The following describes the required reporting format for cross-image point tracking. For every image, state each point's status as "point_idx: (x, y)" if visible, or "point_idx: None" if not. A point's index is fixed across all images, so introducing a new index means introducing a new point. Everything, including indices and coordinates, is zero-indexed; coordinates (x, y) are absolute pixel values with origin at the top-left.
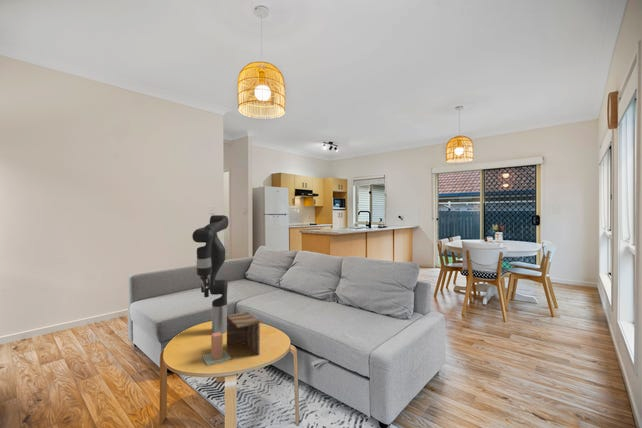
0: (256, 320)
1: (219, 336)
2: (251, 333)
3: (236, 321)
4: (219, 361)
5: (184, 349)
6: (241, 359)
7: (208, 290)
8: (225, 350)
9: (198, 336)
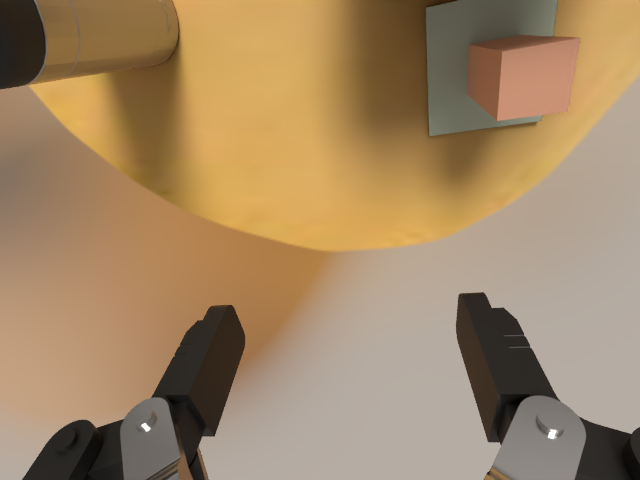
0: None
1: (571, 64)
2: None
3: None
4: None
5: (312, 197)
6: None
7: (524, 388)
8: (437, 6)
9: (190, 135)
